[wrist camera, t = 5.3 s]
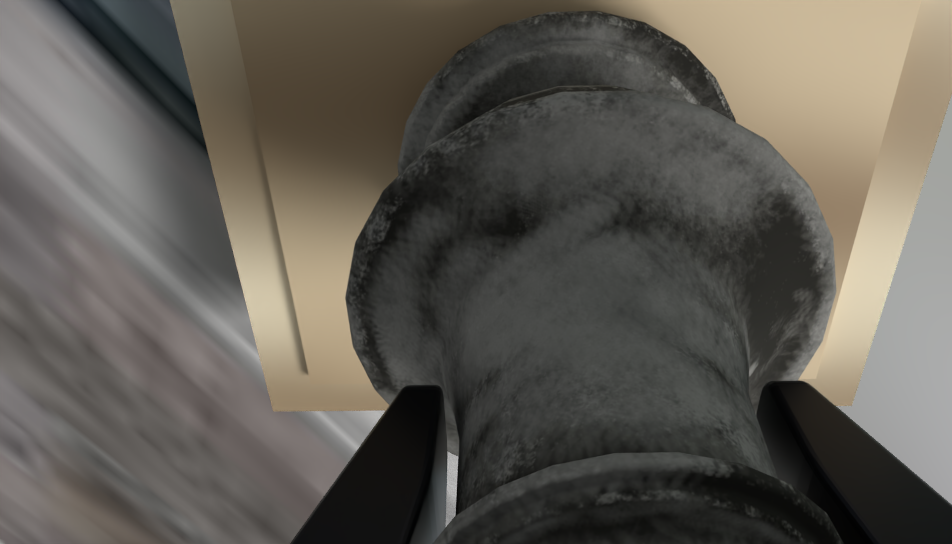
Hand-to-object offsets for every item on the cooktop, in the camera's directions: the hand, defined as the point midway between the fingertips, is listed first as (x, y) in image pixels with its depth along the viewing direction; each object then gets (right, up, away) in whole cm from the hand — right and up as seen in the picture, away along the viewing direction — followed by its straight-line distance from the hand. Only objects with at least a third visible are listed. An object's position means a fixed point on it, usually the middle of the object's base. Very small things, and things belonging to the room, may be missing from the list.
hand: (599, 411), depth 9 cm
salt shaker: (0, +3, +4) cm, 5 cm away
